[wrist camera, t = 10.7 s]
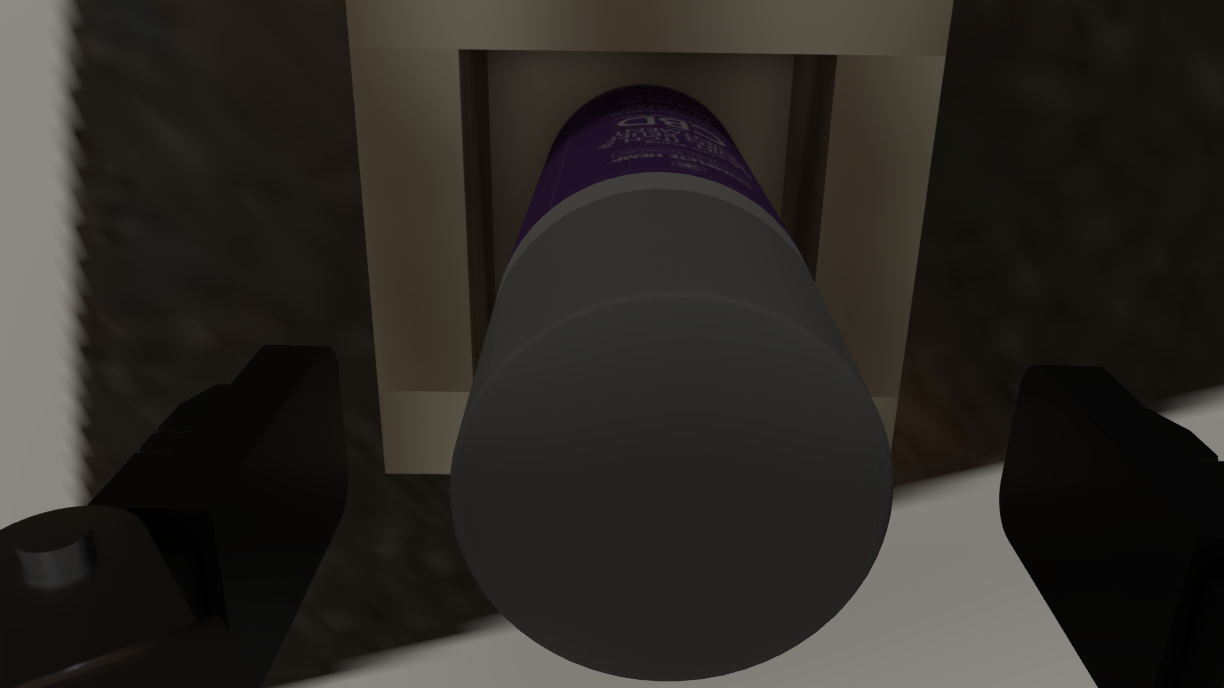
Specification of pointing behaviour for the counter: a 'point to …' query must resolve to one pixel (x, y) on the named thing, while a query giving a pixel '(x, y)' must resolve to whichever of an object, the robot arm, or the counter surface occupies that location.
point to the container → (664, 412)
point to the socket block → (574, 74)
